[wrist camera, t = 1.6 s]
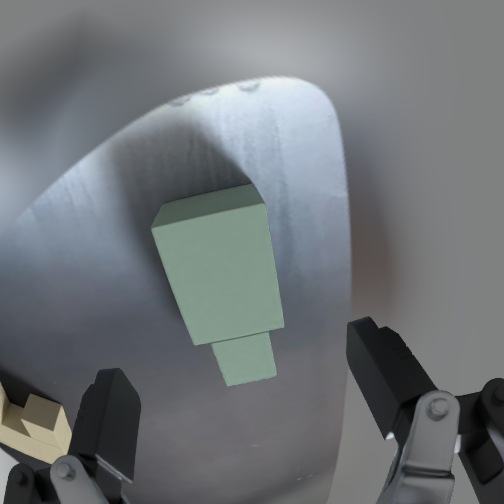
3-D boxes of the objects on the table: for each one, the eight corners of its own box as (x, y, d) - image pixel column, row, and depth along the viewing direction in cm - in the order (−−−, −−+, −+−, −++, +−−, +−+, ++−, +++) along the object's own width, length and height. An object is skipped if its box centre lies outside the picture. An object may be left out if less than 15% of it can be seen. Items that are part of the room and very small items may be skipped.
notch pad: (-25, 367, 19) (-37, 389, 16) (61, 404, 22) (53, 431, 19) (4, 421, 24) (-3, 440, 21) (78, 450, 27) (74, 471, 24)
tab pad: (161, 203, 15) (149, 227, 12) (253, 182, 15) (264, 201, 12) (211, 351, 20) (212, 389, 17) (280, 336, 21) (291, 373, 17)
